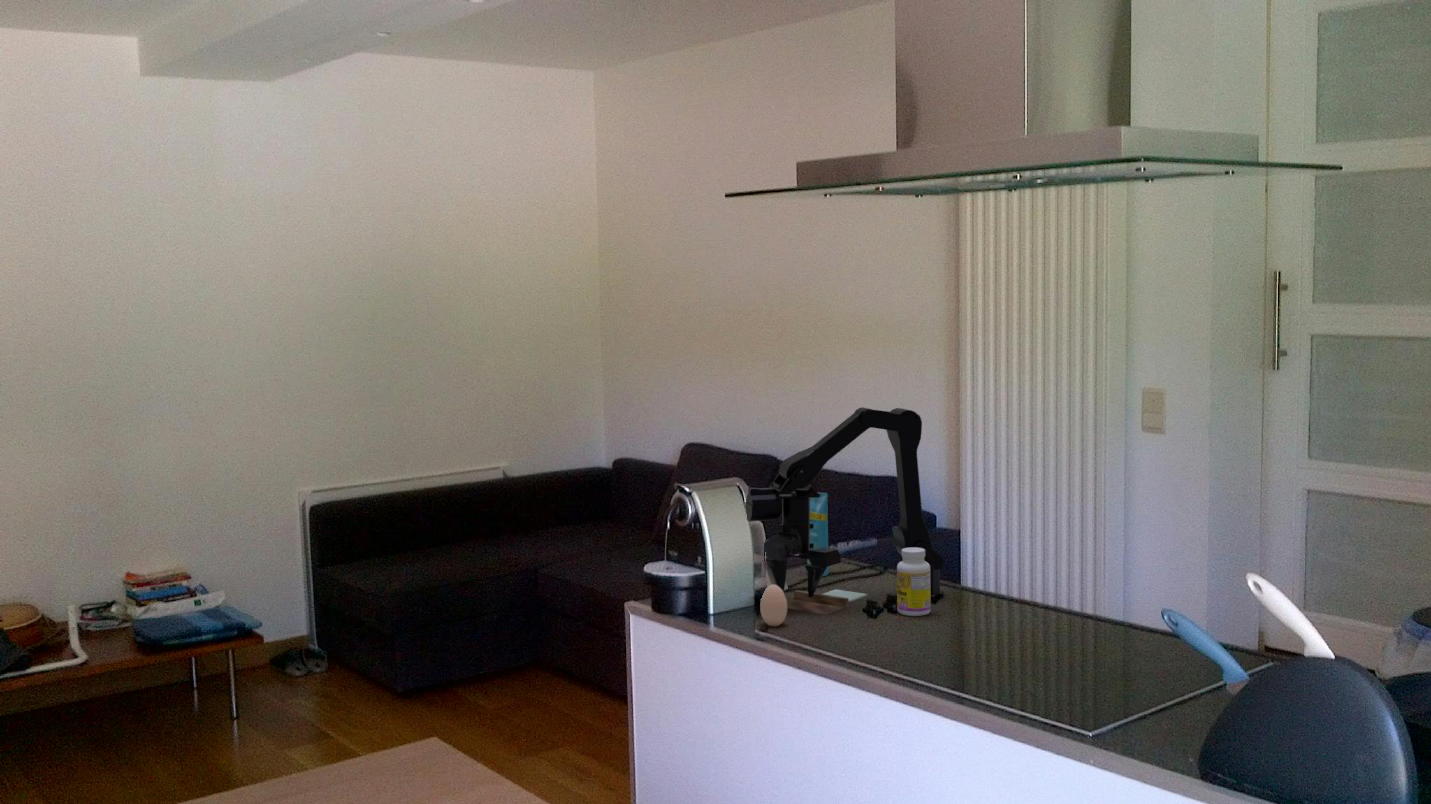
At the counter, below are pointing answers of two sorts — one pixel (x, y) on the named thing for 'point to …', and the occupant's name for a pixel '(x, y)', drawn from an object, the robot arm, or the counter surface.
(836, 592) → the pad
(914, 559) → the supplement bottle
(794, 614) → the counter surface
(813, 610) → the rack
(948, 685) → the counter surface
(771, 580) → the block
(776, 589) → the egg
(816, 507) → the tube
